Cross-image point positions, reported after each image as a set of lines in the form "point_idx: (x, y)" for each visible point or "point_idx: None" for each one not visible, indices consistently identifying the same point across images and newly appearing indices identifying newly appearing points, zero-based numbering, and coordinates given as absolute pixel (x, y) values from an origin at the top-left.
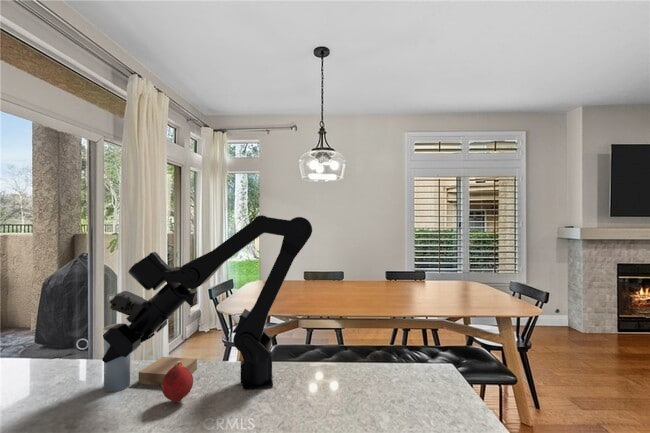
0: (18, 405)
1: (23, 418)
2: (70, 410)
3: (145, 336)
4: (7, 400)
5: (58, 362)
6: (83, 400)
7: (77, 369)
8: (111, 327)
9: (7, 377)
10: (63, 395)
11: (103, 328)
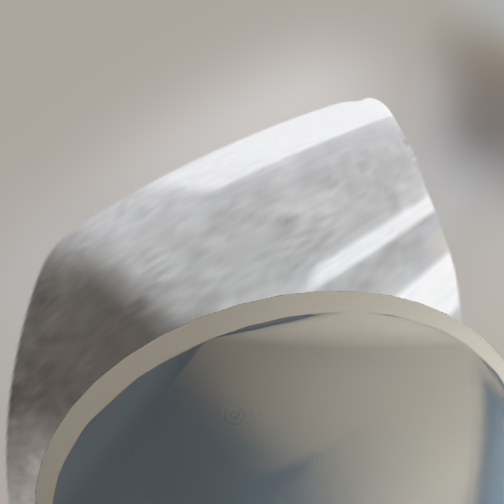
0: (151, 203)
1: (75, 257)
2: (84, 361)
3: None
4: (187, 167)
5: (399, 160)
6: None
7: (380, 219)
8: (296, 478)
9: (308, 115)
10: (192, 283)
11: (214, 317)
